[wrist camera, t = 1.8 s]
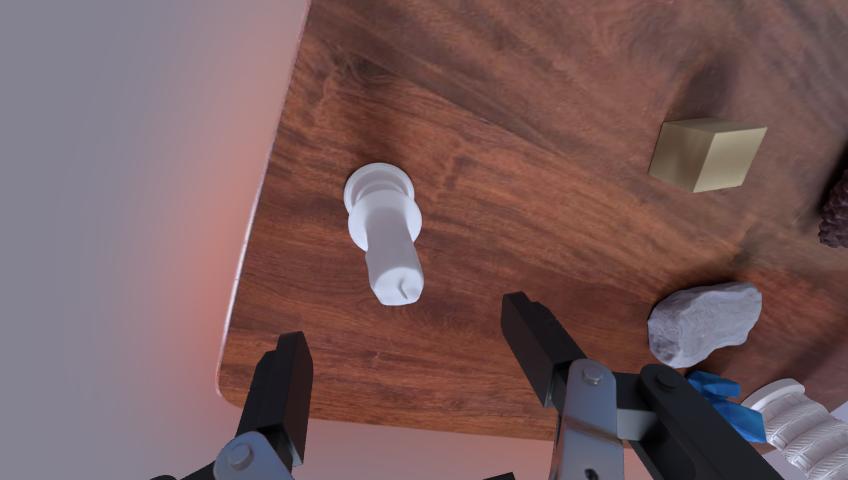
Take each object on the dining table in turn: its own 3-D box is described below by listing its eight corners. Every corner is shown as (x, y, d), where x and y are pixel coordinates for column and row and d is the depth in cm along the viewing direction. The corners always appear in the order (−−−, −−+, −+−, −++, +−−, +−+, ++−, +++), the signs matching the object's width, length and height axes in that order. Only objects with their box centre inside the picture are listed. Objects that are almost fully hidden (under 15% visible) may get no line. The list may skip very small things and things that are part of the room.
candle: (427, 196, 26) (479, 289, 15) (378, 239, 27) (397, 354, 16) (380, 146, 23) (405, 218, 13) (328, 196, 24) (313, 300, 14)
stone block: (637, 293, 39) (645, 356, 43) (672, 313, 35) (678, 382, 38) (724, 257, 40) (725, 321, 43) (770, 272, 35) (767, 343, 39)
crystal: (744, 398, 40) (810, 429, 42) (690, 348, 48) (748, 376, 50) (698, 434, 42) (762, 462, 44) (654, 381, 50) (711, 407, 52)
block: (662, 122, 27) (715, 133, 23) (709, 117, 27) (768, 126, 23) (647, 174, 29) (692, 192, 25) (690, 169, 30) (741, 185, 26)
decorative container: (791, 369, 54) (967, 493, 39) (800, 392, 59) (957, 509, 44) (727, 408, 56) (869, 539, 41) (742, 427, 62) (871, 549, 47)
